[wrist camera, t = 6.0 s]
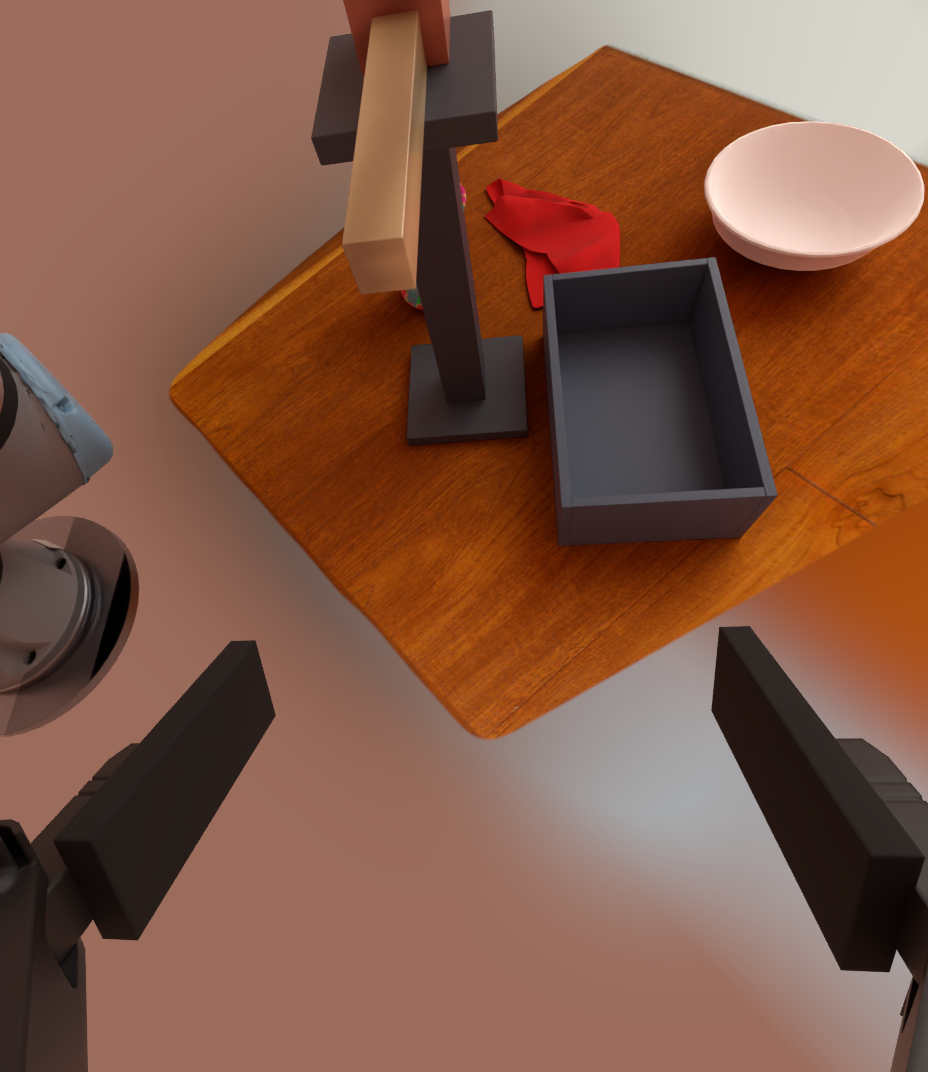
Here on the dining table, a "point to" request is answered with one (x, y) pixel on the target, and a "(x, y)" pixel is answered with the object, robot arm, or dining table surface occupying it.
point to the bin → (650, 407)
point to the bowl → (811, 194)
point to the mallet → (390, 136)
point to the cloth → (553, 233)
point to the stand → (441, 239)
